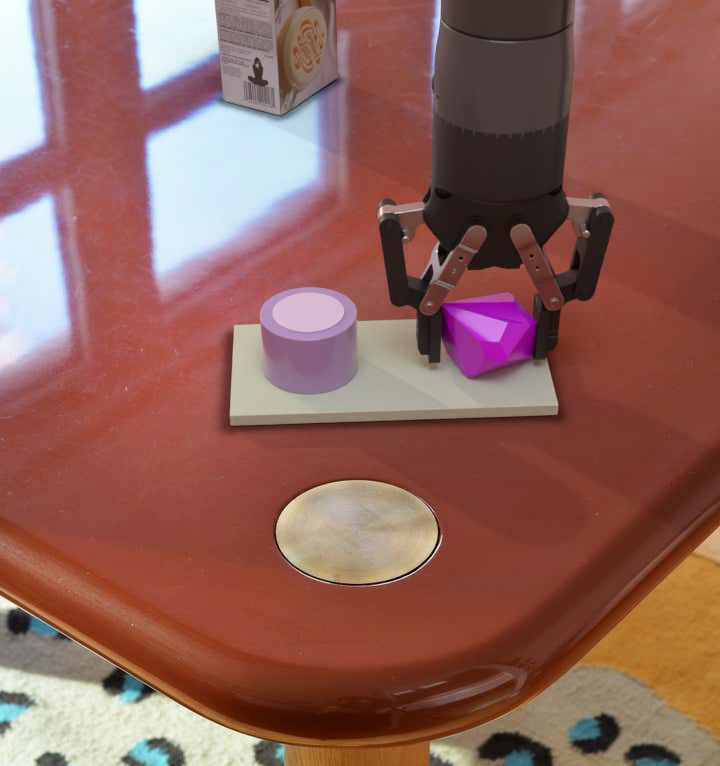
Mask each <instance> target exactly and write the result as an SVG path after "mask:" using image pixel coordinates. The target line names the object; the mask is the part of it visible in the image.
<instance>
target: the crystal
mask: <svg viewBox="0 0 720 766" xmlns="http://www.w3.org/2000/svg"><path fill="white" fill-rule="evenodd" d="M440 307H441V313H442V328H441V340H442V343H443V345H444V348H445V350H446V353H447V354H448V355H449V356H450V358H451V359H452V360H453V361H454V362H455V364H456V365H457V366H458V367H459V369H460V370H461V371H462V372H463V373H464V375H465V376H466V377H474V376H478V375H481V374H484V373H487V372H490V371H493V370H497V369H500V368H503V367H506V366H509V365H512V364H516V363H519V362H522V361H525V360H528V359H531V358H533V351H534V344H535V337H536V330H537V322H536V321H535V320H534V318H533V317H532V314H531V313H530V311H528V310H527V308H526V307H525V306H524V305H523V304H522V303H521V302H520V301H519V300H518V298H516V297H515V295H513V294H511V293H510V292H502V293H501V292H500V293H496V294H495V293H494V294H489V295H488V294H487V295H484V296H483V295H482V296H477V297H470V298H464V299H458V300H451V301H446V302H444V301H443V303H442V305H441V306H440Z"/></svg>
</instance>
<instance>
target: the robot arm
mask: <svg viewBox="0 0 720 766" xmlns="http://www.w3.org/2000/svg"><path fill="white" fill-rule="evenodd" d="M575 9H576V0H440V15H439V27H438V33H437V39H436V44H435V53H434V62H433V63H434V64H433V74H432V77H431V90H432V94H433V95H432V96H433V99H432V100H433V101H432V102H433V103H432V133H431V134H432V135H431V170H430V171H431V172H430V173H431V175H430V184H429V187H428V189H427V191H426V193H425V194H424V195H423V197H422V200H421V201H416V202H410V203H404V204H397V202H396V201H395V200H394V199H392V198H389V197H388V198H383V199H381V200H379V201H378V203H377V204H376V213H377V221H378V222H377V223H378V230H379V236H380V244H381V250H382V256H383V262H384V268H385V277H386V282H387V288H388V296H389V301H390V303H391V305H393V306H394V307H397V308H402V307H405V306H408V307H411V308H413V309H415V310H416V318H415V319H416V339H417V346H418V350H419V352H420V354H421V355H428V362H429V363H440V355H441V328H442V313H441V307H440V306H441V305H442V303H444V301H445V300H446V298H447V296H448V294H449V293H450V291H451V290H452V289H455V288H456V287H457V285H458V283H459V282H460V280H461V278H462V277H463V275H464V273H465V271H482V270H486V269H489V268H493V267H494V268H500V269H504V270H520V269H521V266H522V265H524V268H525V270H526V272H527V275H528V276H529V278H530V280H531V282H532V284H533V286H535V288H536V290H537V292H534V293H533V302H532V303H533V304H532V314H531V316H532V317H533V318H534V320H535V321H536V322H537V330H536V337H535V344H534V351H533V358H534V360H545V359H546V357H547V352H553V351H555V349H556V348H557V345H558V342H559V333H560V332H559V330H560V324H561V323H560V322H561V321H560V320H561V312H562V308H563V307H564V306H565V305H566V304H568V303H569V302H571V301H574V300H578V301H580V302H587V301H590V300H591V299H592V298H593V297H594V295H595V292H596V290H597V286H598V282H599V278H600V275H601V271H602V267H603V264H604V260H605V256H606V253H607V249H608V246H609V243H610V240H611V235H612V232H613V227H614V224H615V215H614V214H613V210H612V208H611V205H610V202H609V201H608V198H607V196H606V194H604V193H603V192H600V191H599V192H598V191H597V192H593V193H591V194H590V195H589V196H588V197H587V198H583V197H581V198H580V197H571V196H567V195H566V192H565V189H564V186H563V185H564V176H565V175H564V174H565V164H566V152H567V142H568V135H569V122H570V112H571V103H572V102H571V101H572V93H573V82H574V81H573V80H574V73H575V72H574V71H575V39H574V26H575V25H574V24H575ZM566 220H570V221H571V226H572V230H573V232H574V235H575V236H577V237H576V240H575V245H574V249H573V252H572V256H571V260H570V264H569V267H568V270H566V271H564V272H560V273H556V272H555V269H554V267H553V265H552V263H551V260H550V259H549V256H548V253H547V251H546V249H545V245H546V244H547V243H548V241H549V240H550V239H551V238H552V237H553V235H554V234H555V233H557V231H558V230H559V229H560V228H561V226H563V225H564V223H565V222H566ZM423 224H425V225H426V227H427V228H428V229H429V231H430V232H431V233H432V234H433V235H434V237H435V238H436V240H437V242H436V243H435V245H434V247H433V249H432V251H431V253H430V258H429V261H428V263H427V265H426V267H425V268H424V270H423V272H422V274H421V275H420V278H418V277H415V276H412V275H408V273H407V265H406V258H405V251H404V245H408V244H409V243H411V242H412V241H413V240H414V239H415V236H416V230H417V228H418V227H419V226H420V225H423Z"/></svg>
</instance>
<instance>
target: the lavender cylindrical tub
mask: <svg viewBox="0 0 720 766" xmlns="http://www.w3.org/2000/svg"><path fill="white" fill-rule="evenodd" d="M357 321H358V309H357V307H356V304H355V303H354V301H353V300H352V299H351V298H350V297H348V296H347V295H346V294H343V293H341V292H339V291H337V290H333V289H331V288H325V287H320V286H319V287H317V286H305V287H304V286H303V287H296V288H295V287H294V288H291V289H287V290H283V291H281V292H278V293H276V294H274V295H273V296H271V297H269V298H268V299H267V300H266V301H265V302H264V303H263V304H262V306H261V308H260V310H259V324H260V331H261V345H262V359H263V371H264V374H265V376H266V378H267V379H268V380H269V381H270V382H271V383H272V384H273V385H275V386H276V387H278V388H280V389H282V390H285V391H288V392H292V393H298V394H320V393H325V392H330V391H333V390H336V389H338V388H340V387H342V386H344V385H346V384H347V383H348V382H350V381H351V380H352V379H353V377H354V376H355V374H356V372H357V369H358V325H357Z"/></svg>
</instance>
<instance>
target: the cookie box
mask: <svg viewBox="0 0 720 766" xmlns="http://www.w3.org/2000/svg"><path fill="white" fill-rule="evenodd" d="M214 10H215V20H216V22H215V23H216V32H217V43H218V55H219V67H220V78H221V89H222V99H223V101H225V102H226V103H231V104H234V105H239V106H242V107H246V108H249V109H255V110H256V111H257V110H258V111H261V112H265V113H269V114H272V115H276V116H280V117H281V116H284V115H285V114H287V113H288V112H289V111H291V110H292V109H294V108H296V107H297V106H298V105H299V104H301V103H303V102H304V101H306V100H307V99H309V98H310V97H312V96H313V95H314V94H316V93H317V92H319V91H320V90H322V89H323V88H325V87H326V86H328V85H329V84H331V83H332V82H333V81H334V82H335V80H337V79H338V78H339V64H338V63H339V62H338V59H339V58H338V31H337V30H338V28H337V25H338V24H337V1H336V0H214Z"/></svg>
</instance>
